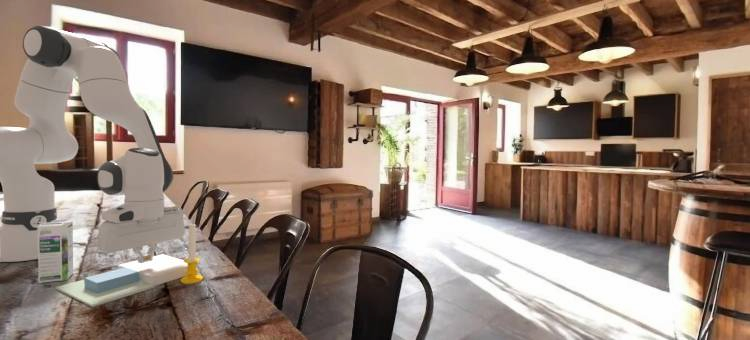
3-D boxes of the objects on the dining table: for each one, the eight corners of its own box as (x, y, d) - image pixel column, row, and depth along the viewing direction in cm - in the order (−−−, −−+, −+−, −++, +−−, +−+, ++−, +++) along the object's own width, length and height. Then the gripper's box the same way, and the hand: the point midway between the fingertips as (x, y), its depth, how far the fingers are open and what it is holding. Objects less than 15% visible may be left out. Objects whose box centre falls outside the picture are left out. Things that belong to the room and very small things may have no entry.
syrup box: (37, 284, 87) (36, 226, 86) (46, 276, 92) (45, 221, 92) (67, 280, 90) (66, 224, 89) (74, 273, 95) (73, 220, 94)
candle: (203, 275, 96) (203, 219, 96) (202, 282, 92) (203, 223, 91) (181, 278, 94) (181, 220, 93) (180, 285, 90) (180, 224, 89)
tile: (84, 288, 85) (84, 277, 84) (125, 276, 92) (125, 267, 92) (97, 293, 82) (97, 283, 82) (138, 281, 90) (138, 271, 89)
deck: (118, 273, 96) (118, 264, 95) (162, 262, 106) (162, 254, 106) (151, 286, 88) (151, 276, 88) (196, 272, 98) (196, 263, 98)
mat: (55, 288, 85) (55, 286, 85) (116, 273, 96) (116, 271, 96) (92, 307, 76) (92, 304, 76) (154, 287, 87) (154, 285, 87)
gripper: (176, 204, 104) (176, 250, 104) (93, 214, 86) (94, 269, 87) (189, 206, 100) (189, 254, 101) (106, 217, 83) (107, 275, 83)
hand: (145, 261), depth 94 cm, fingers closed
